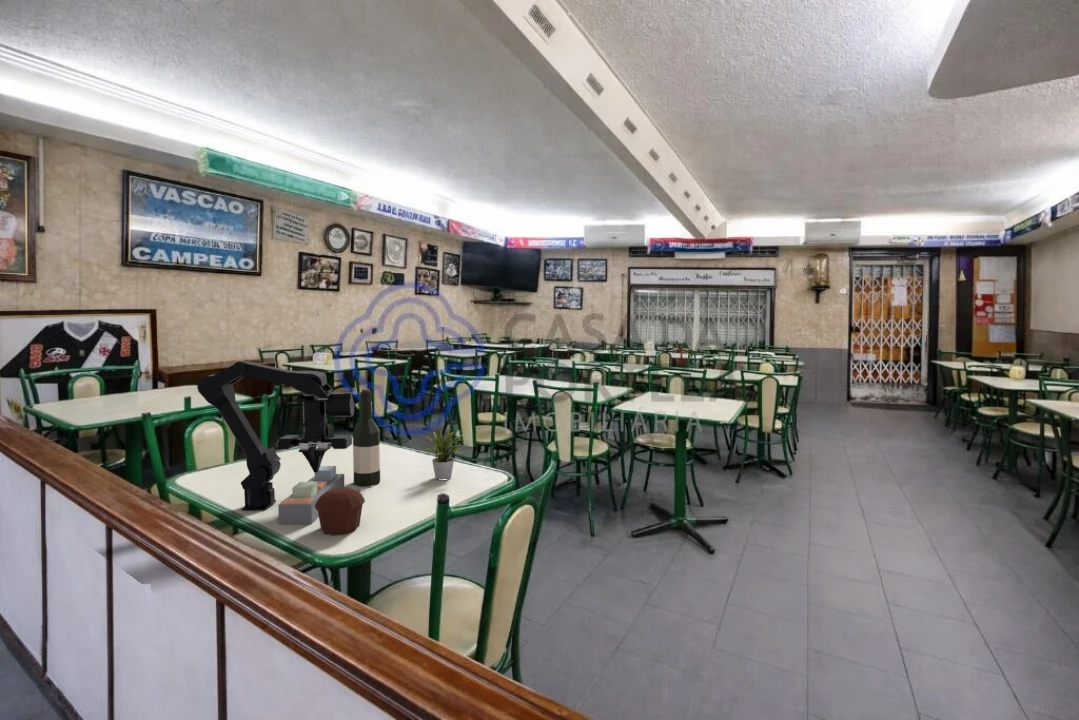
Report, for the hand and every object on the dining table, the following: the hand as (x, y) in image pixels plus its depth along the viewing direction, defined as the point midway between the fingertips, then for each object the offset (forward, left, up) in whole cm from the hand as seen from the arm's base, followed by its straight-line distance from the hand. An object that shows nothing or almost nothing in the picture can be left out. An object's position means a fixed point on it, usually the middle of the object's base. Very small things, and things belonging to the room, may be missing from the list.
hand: (316, 472), depth 144 cm
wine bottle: (+9, +18, -9) cm, 23 cm away
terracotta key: (0, 0, -7) cm, 7 cm away
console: (0, -1, -9) cm, 9 cm away
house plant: (+33, +21, -9) cm, 40 cm away
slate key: (0, +7, -5) cm, 9 cm away
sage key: (0, -7, -5) cm, 9 cm away
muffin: (+12, -17, -9) cm, 23 cm away
